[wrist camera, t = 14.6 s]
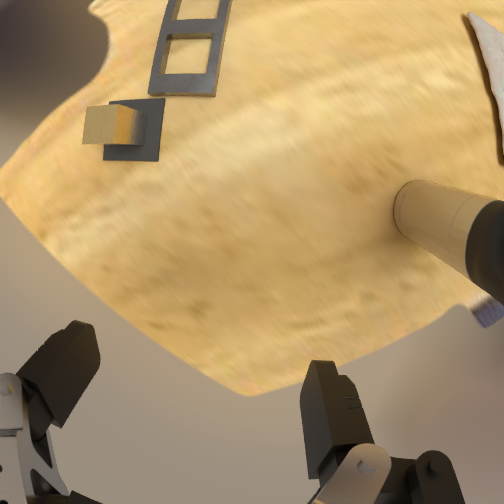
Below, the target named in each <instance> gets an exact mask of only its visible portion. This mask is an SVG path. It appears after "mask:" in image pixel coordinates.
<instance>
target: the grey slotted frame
mask: <svg viewBox="0 0 504 504" xmlns="http://www.w3.org/2000/svg"><path fill="white" fill-rule="evenodd" d="M181 1H182V0H169V1H168V4H167V8H166V11H165V15H164V18H163V22H162V26H161V30H160V34H159V38H158V42H157V47H156V51H155V56H154V61H153V66H152V71H151V76H150V82H149V88H148V94H150V95H152V96H215V97H216V90H217V83H218V77H219V70H220V64H221V58H222V52H223V46H224V41H225V35H226V30H227V25H228V20H229V14H230V9H231V5H232V0H221V1H220V6H219V10H218V15H217V19H187V20H176V19H177V15H178V11H179V8H180V4H181ZM191 38H213V39H212V45H211V50H210V56H209V61H208V67H207V73H206V74H165V69H166V64H167V59H168V54H169V49H170V45H171V40H172V39H191Z"/></svg>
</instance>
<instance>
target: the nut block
mask: <svg viewBox="0 0 504 504" xmlns="http://www.w3.org/2000/svg"><path fill="white" fill-rule="evenodd" d="M147 120H148V114H147V113H144V112H141V111H138V110H135V109H132V108H129V107H126V106H123V105H120V104H113V105H101V106H91V107H87V109H86V116H85V123H84V132H83V142H82V144H106V145H145V136H146V127H147Z"/></svg>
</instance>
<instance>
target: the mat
mask: <svg viewBox="0 0 504 504" xmlns="http://www.w3.org/2000/svg"><path fill="white" fill-rule="evenodd" d="M113 104H120V105H123V106H126V107H129V108H132V109H135V110H138V111H141V112H144V113H147V114H148V120H147V127H146V136H145V145H106V144H104V154H103V160H129V161H158V158H159V148H160V138H161V129H162V121H163V113H164V106H165V98H161V99H136V100H121V101H110V102H109V105H113Z"/></svg>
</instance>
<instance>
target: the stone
mask: <svg viewBox="0 0 504 504" xmlns="http://www.w3.org/2000/svg"><path fill="white" fill-rule="evenodd" d="M467 16H468V18H469V20H470V22H471V25H472V26H473V28H474V30H475V33H476V36H477V39H478V41H479V45H480V48H481V51H482V55H483V59H484V62H485V65H486V67H487V69H488V72H489V78H490V84H491V91H492V93H493V94H494V96H495V98H496V101H497V105H498V109H499V120H500V124H501V128H502V137H503V143H502V146H503V153H504V35H503V34H502V33H501V32H499V31H498V30H497V29H496V28H494V27H493V26H491V25H490V24H489V23H488V22H486V21H485V20H484V19H483V18H481V17H479V16H477V15H475V14H474V13H472V12H468V13H467Z"/></svg>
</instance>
